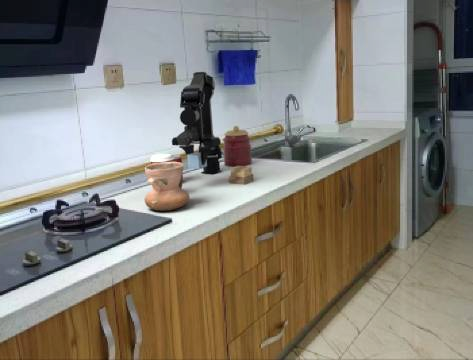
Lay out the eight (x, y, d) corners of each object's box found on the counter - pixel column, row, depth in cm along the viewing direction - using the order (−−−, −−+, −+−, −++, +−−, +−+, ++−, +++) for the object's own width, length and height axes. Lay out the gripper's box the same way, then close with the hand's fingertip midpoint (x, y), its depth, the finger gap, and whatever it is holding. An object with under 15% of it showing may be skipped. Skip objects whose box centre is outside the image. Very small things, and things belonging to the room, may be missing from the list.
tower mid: (230, 176, 191) (230, 168, 190) (238, 173, 196) (238, 165, 195) (244, 177, 188) (244, 169, 187) (252, 174, 193) (251, 166, 192)
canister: (234, 160, 238) (232, 123, 234) (257, 162, 230) (255, 124, 226) (218, 165, 228) (215, 127, 224) (241, 167, 220) (239, 128, 216)
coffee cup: (157, 201, 171) (153, 158, 167) (150, 196, 178) (146, 155, 175) (180, 197, 174) (177, 155, 171) (172, 192, 182) (168, 152, 178)
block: (188, 168, 184) (187, 154, 182) (196, 165, 188) (195, 152, 187) (199, 168, 181) (198, 155, 180) (207, 166, 185) (206, 153, 184)
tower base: (229, 184, 192) (228, 176, 191) (238, 180, 197) (238, 172, 197) (244, 185, 188) (244, 177, 187) (253, 181, 194) (253, 174, 193)
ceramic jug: (170, 217, 152) (166, 171, 148) (133, 212, 159) (129, 169, 155) (202, 202, 167) (199, 160, 164) (167, 198, 174) (163, 158, 171)
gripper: (160, 124, 179) (164, 167, 182) (202, 125, 169) (205, 170, 173) (179, 121, 188) (182, 161, 192) (220, 121, 178) (222, 164, 182)
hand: (197, 164), depth 184 cm, fingers closed on block, 5 cm apart
